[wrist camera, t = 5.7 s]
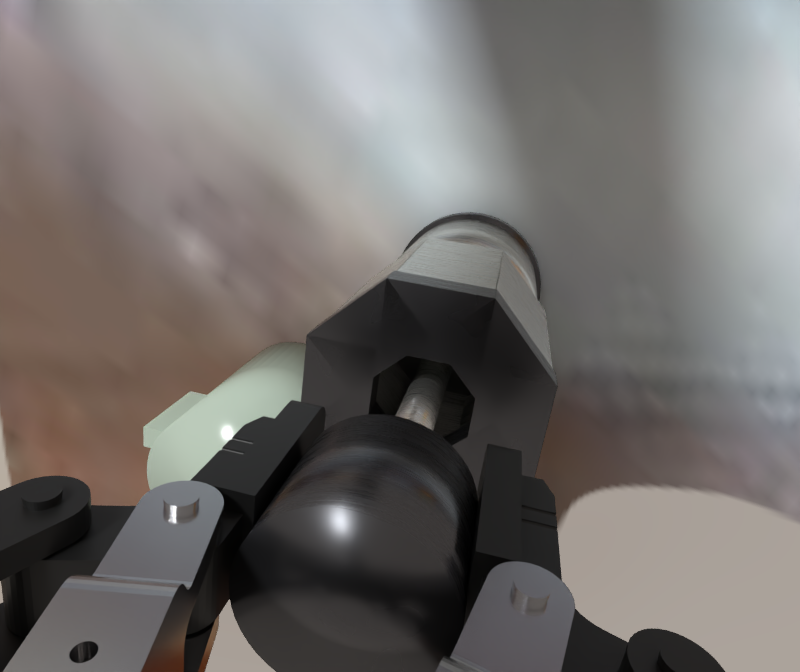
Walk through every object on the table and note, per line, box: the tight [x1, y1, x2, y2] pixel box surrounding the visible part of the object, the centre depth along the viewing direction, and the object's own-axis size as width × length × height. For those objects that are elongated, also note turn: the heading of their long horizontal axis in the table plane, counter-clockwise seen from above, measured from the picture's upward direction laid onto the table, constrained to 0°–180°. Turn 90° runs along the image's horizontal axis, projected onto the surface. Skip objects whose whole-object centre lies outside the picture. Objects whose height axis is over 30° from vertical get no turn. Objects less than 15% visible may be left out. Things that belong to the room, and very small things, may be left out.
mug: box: [144, 342, 306, 490], centre depth 28 cm, size 6×8×9 cm
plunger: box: [229, 359, 478, 672], centre depth 15 cm, size 4×4×14 cm
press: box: [301, 212, 558, 490], centre depth 22 cm, size 9×7×14 cm
